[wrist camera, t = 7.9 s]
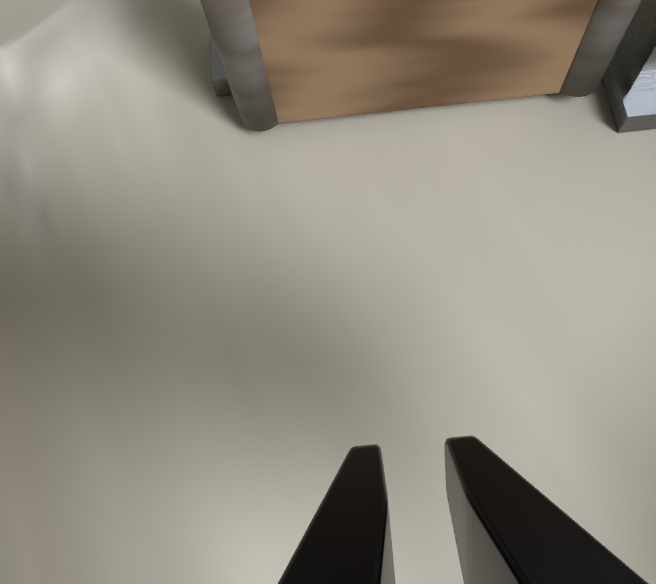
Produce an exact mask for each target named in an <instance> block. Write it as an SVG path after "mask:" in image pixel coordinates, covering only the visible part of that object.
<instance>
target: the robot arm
mask: <svg viewBox="0 0 656 584" xmlns="http://www.w3.org/2000/svg"><path fill="white" fill-rule="evenodd" d="M445 471H446V490H447V497H448V503H449V508H450V513H451V519H452V524H453V529H454V534H455V539H456V544H457V550H458V555H459V560H460V565H461V570H462V575H463V580H464V584H648V583H647V582H646V581H645V580H644V579H642V578H641V577H640V576H639V575H638V574H636V573H635V572H634V571H633V570H632V569H631V568H629V567H628V566H627V565H626V564H625V563H623V562H622V561H621V560H620V559H619V558H618V557H616V556H615V555H614V554H613V553H612V552H611V551H609V550H608V549H607V548H606V547H605V546H603V545H602V544H601V543H600V542H599V541H598V540H596V539H595V538H594V537H593V536H592V535H591V534H589V533H588V532H587V531H586V530H585V529H583V528H582V527H581V526H580V525H579V524H578V523H576V522H575V521H574V520H573V519H572V518H571V517H569V516H568V515H567V514H566V513H565V512H563V511H562V510H561V509H560V508H559V507H558V506H556V505H555V504H554V503H553V502H552V501H550V500H549V499H548V498H547V497H546V496H545V495H543V494H542V493H541V492H540V491H539V490H538V489H536V488H535V487H534V486H533V485H532V484H530V483H529V482H528V481H527V480H526V479H525V478H523V477H522V476H521V475H520V474H519V473H518V472H516V471H515V470H514V469H513V468H512V467H510V466H509V465H508V464H507V463H506V462H505V461H503V460H502V459H501V458H500V457H499V456H497V455H496V454H495V453H494V452H493V451H492V450H490V449H489V448H488V447H487V446H486V445H485V444H483V443H482V442H481V441H480V440H479V439H477V438H476V437H474V436H462V437H452V438H448V439H446V441H445ZM278 584H395V574H394V563H393V552H392V541H391V530H390V519H389V508H388V497H387V489H386V482H385V474H384V467H383V460H382V453H381V448H380V447H379V446H378V445H364V446H355V447H352V448H351V449H350V451H349V452H348V454H347V456H346V458H345V460H344V462H343V463H342V465H341V467H340V469H339V471H338V473H337V475H336V476H335V478H334V480H333V482H332V484H331V486H330V488H329V489H328V491H327V493H326V495H325V497H324V499H323V501H322V502H321V504H320V506H319V508H318V510H317V512H316V514H315V515H314V517H313V519H312V521H311V523H310V525H309V527H308V528H307V530H306V532H305V534H304V536H303V538H302V540H301V541H300V543H299V545H298V547H297V549H296V551H295V553H294V554H293V556H292V558H291V560H290V562H289V564H288V566H287V567H286V569H285V571H284V573H283V575H282V577H281V579H280V580H279V582H278Z"/></svg>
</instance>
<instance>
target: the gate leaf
mask: <svg viewBox="0 0 656 584" xmlns="http://www.w3.org/2000/svg"><path fill="white" fill-rule="evenodd" d="M640 2H641V0H201V3H202V6H203V9H204V12H205V15H206V18H207V21H208V24H209V27H210V30H211V33H212V36H213V39H214V41H215V44H216V47H217V50H218V53H219V56H220V59H221V62H222V65H223V68H224V71H225V74H226V77H227V80H228V83H229V86H230V89H231V92H232V95H233V98H234V101H235V104H236V107H237V110H238V113H239V116H240V119H241V121H242V123H243V124H244V125H245V126H246V127H247V128H249V129H251V130H254V131H265V130H269V129H271V128H273V127H275V126H276V125H277V124H278V123H283V122H292V121H301V120H310V119H320V118H329V117H338V116H347V115H357V114H366V113H375V112H385V111H394V110H403V109H412V108H422V107H431V106H440V105H449V104H459V103H468V102H477V101H487V100H496V99H505V98H514V97H524V96H533V95H542V94H551V93H559V91H561V92H562V93H564V94H566V95H569V96H573V97H582V96H587V95H589V94H591V93H593V92H594V91H595V90H596V89H597V87H598V85H599V84H600V82H601V80H602V78H603V76H604V74H605V72H606V70H607V68H608V66H609V64H610V62H611V60H612V58H613V56H614V54H615V52H616V50H617V48H618V46H619V44H620V42H621V40H622V38H623V36H624V34H625V32H626V30H627V28H628V26H629V24H630V22H631V20H632V18H633V16H634V14H635V12H636V10H637V8H638V6H639V4H640Z"/></svg>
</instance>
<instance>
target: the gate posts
mask: <svg viewBox="0 0 656 584" xmlns="http://www.w3.org/2000/svg"><path fill="white" fill-rule="evenodd" d="M602 80H603V83H604V86H605V90H606V93H607V96H608V100H609V103H610V107H611V110H612V113H613V117H614V120H615V123H616V127H617V130H618V133H620V132H629V131H638V130H647V129H656V0H641V2H640V4H639V6H638V8H637V10H636V12H635V14H634V16H633V18H632V20H631V22H630V24H629V26H628V28H627V30H626V32H625V34H624V36H623V38H622V40H621V42H620V44H619V46H618V48H617V50H616V52H615V54H614V56H613V58H612V60H611V62H610V64H609V66H608V68H607V70H606V72H605V74H604V76H603V78H602ZM211 81H212V83H213V86H214V89H215V91H216V94H217V96H221V95H230V94H232V92H231V89H230V86H229V83H228V80H227V77H226V74H225V71H224V68H223V65H222V62H221V59H220V56H219V53H218V50H217V47H216V44H215V41H214V39H213V36H212V33H211Z"/></svg>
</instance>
